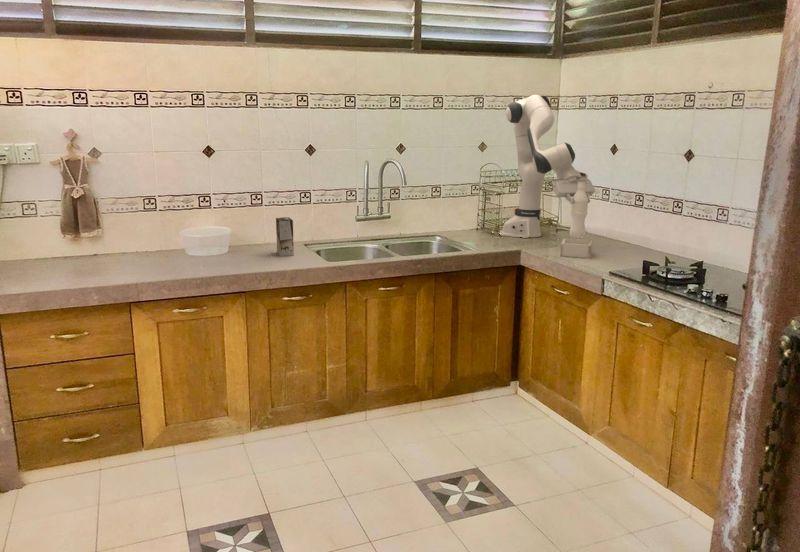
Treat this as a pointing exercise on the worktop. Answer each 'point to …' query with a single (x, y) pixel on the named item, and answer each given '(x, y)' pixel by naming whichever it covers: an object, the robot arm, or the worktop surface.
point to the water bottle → (579, 212)
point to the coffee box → (284, 236)
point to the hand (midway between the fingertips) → (580, 202)
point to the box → (576, 248)
